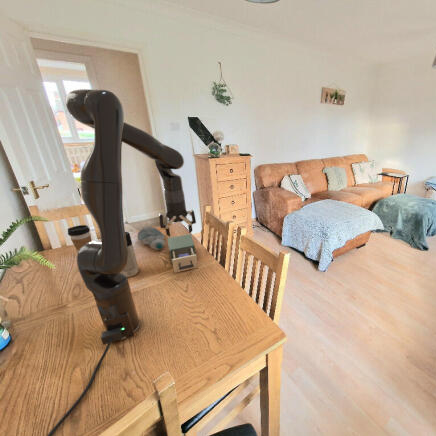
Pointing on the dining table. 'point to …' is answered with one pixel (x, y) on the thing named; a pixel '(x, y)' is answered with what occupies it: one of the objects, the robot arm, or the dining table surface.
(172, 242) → the cabinet
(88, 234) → the coffee cup
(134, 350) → the dining table surface
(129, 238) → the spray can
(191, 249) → the drawer
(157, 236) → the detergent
